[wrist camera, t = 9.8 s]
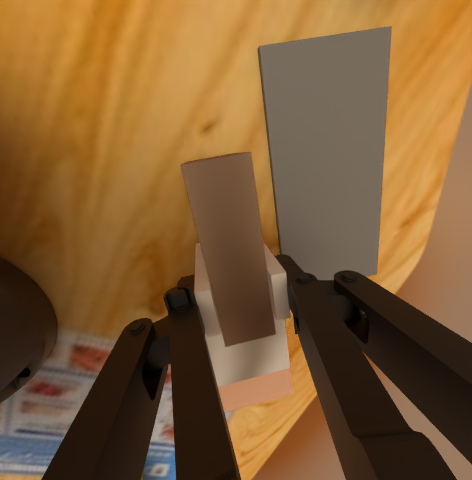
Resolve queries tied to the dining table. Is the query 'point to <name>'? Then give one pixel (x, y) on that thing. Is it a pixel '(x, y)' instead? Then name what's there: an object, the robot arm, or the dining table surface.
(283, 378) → the tile
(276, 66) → the mat
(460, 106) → the dining table surface
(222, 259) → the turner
